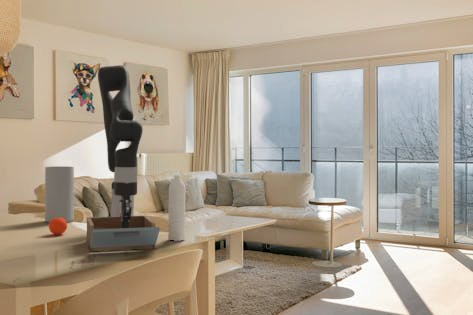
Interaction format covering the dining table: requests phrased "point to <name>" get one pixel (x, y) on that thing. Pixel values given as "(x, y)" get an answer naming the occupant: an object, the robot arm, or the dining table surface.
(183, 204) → the water bottle
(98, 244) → the rectangular panel
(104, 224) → the crate
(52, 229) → the clementine
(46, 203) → the cylinder vase
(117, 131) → the robot arm
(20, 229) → the dining table surface
